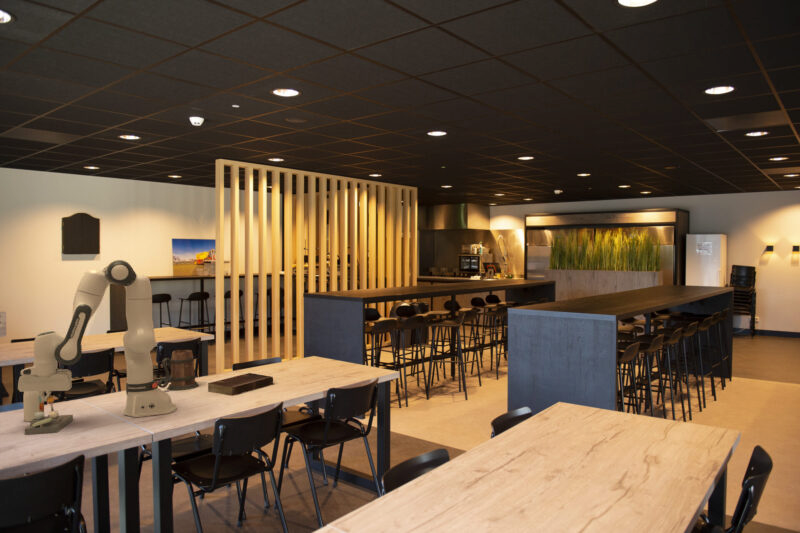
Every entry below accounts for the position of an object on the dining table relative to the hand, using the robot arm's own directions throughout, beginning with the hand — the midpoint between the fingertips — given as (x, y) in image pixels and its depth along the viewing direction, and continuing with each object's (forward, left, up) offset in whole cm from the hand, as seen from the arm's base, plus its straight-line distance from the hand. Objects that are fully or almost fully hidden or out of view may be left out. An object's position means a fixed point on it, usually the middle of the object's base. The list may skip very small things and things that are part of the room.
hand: (45, 401), depth 246 cm
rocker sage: (-3, +11, -7) cm, 13 cm away
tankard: (-44, -57, -11) cm, 73 cm away
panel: (-3, +4, -10) cm, 12 cm away
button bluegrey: (0, +7, -6) cm, 9 cm away
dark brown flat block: (-78, -48, -11) cm, 93 cm away
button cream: (-6, +7, -6) cm, 10 cm away
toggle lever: (-3, 0, -6) cm, 7 cm away
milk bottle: (+9, -11, -11) cm, 18 cm away
